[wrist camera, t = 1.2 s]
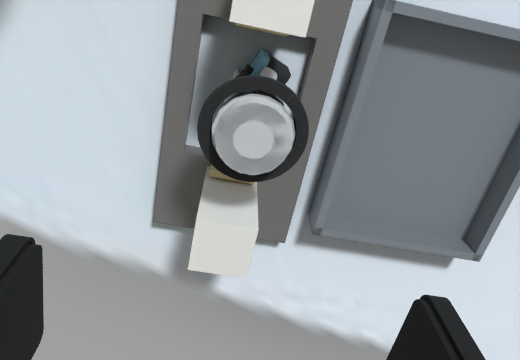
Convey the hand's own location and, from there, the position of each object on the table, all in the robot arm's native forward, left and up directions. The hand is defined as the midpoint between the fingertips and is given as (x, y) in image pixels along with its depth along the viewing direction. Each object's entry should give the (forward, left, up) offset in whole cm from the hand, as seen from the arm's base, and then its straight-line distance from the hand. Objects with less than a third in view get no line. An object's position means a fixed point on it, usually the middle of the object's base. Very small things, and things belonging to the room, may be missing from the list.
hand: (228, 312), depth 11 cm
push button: (0, 0, -21) cm, 21 cm away
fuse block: (0, 0, -20) cm, 20 cm away
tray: (-13, 0, -20) cm, 24 cm away
